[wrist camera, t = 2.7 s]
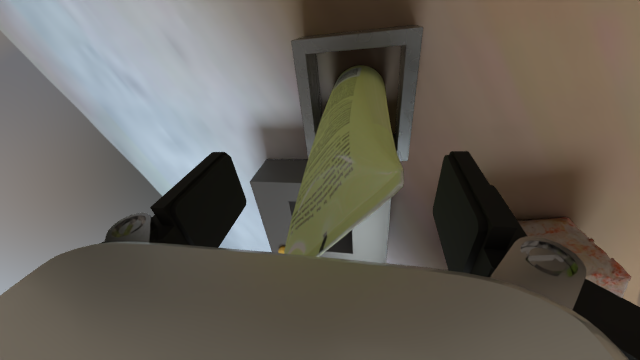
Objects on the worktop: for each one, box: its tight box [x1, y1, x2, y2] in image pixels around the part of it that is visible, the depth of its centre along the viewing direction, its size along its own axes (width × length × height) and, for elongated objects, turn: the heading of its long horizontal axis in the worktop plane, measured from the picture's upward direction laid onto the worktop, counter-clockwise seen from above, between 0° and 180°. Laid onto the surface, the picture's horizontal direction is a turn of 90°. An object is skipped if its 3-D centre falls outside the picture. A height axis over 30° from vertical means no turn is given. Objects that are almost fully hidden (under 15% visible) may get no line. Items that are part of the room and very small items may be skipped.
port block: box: [250, 159, 391, 263], centre depth 30 cm, size 15×13×5 cm
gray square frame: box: [291, 25, 423, 161], centre depth 22 cm, size 10×11×4 cm
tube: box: [284, 65, 404, 257], centre depth 16 cm, size 6×5×20 cm
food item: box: [518, 217, 631, 298], centre depth 26 cm, size 14×8×10 cm, turn 106°
